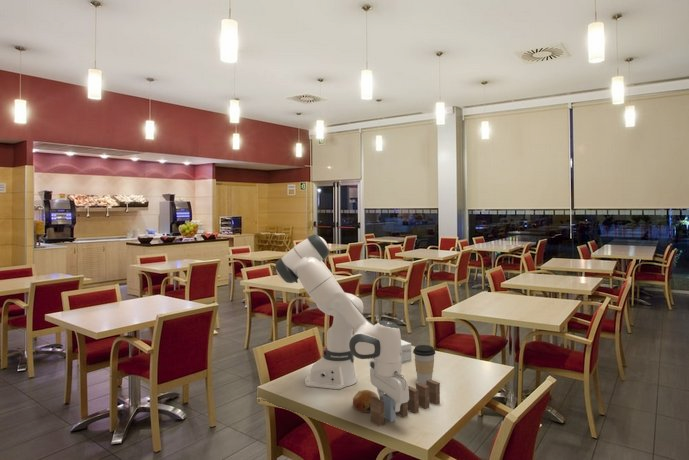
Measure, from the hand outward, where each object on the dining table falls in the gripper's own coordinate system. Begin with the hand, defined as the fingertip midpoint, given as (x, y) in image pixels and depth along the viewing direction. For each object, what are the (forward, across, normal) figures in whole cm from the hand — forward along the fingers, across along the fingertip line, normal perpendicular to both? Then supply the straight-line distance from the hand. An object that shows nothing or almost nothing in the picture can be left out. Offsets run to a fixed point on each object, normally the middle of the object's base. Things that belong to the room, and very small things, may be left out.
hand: (389, 405), depth 159 cm
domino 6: (+4, +3, -22) cm, 22 cm away
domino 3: (+4, +1, -5) cm, 7 cm away
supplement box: (+5, +52, -34) cm, 63 cm away
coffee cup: (+5, +20, -31) cm, 37 cm away
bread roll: (+5, +12, +3) cm, 13 cm away
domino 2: (+4, 0, 0) cm, 5 cm away
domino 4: (+4, +2, -11) cm, 12 cm away
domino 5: (+4, +2, -16) cm, 17 cm away
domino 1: (+4, -1, +6) cm, 7 cm away
